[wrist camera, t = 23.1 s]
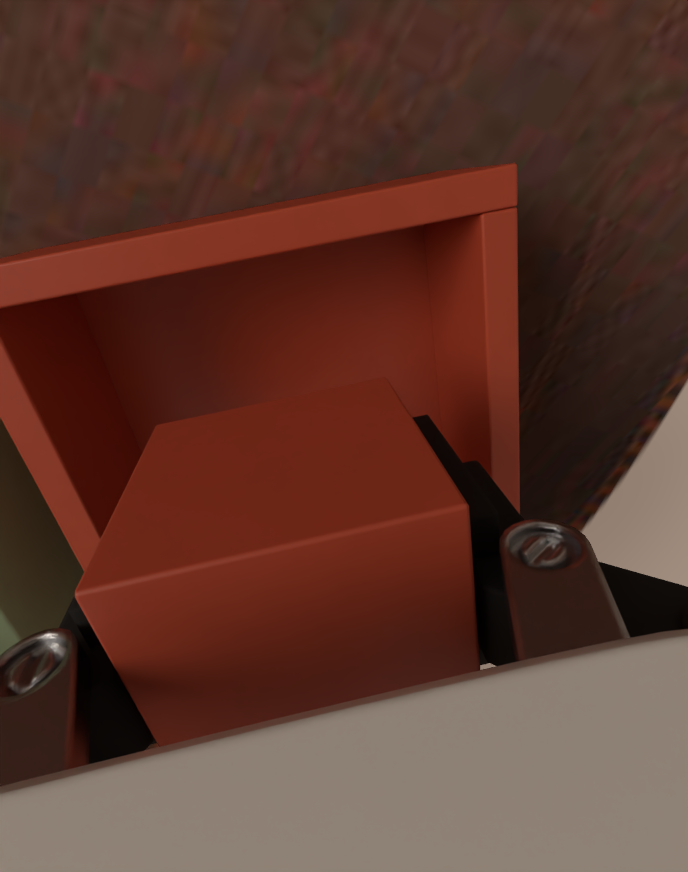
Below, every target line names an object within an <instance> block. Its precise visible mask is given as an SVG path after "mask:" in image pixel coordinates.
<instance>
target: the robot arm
mask: <svg viewBox="0 0 688 872" xmlns="http://www.w3.org/2000/svg"><path fill="white" fill-rule="evenodd" d="M412 418H413V420H414V421H415V423H416V424H417V426H418V427H419V429H420V431H421V432H422V434H423V435H424V437H425V438H426V440H427V441H428V443H429V445H430V446H431V448H432V449H433V451H434V452H435V454H436V455H437V457H438V459H439V460H440V462H441V463H442V465H443V466H444V468H445V469H446V471H447V473H448V474H449V476H450V477H451V479H452V480H453V482H454V483H455V485H456V487H457V488H458V490H459V491H460V493H461V494H462V496H463V497H464V499H465V501H466V502H467V504H468V505H469V513H470V528H471V542H472V557H473V571H474V586H475V600H476V615H477V629H478V644H479V658H480V665H483V664H487V663H491V664H493V665H496V667H492V668H488V669H483V670H479V671H475V672H470V673H466V674H462V675H458V676H453V677H449V678H445V679H441V680H436V681H432V682H428V683H424V684H419V685H415V686H411V687H406V688H402V689H398V690H394V691H389V692H385V693H381V694H377V695H372V696H368V697H364V698H360V699H356V700H351V701H347V702H343V703H339V704H335V705H331V706H326V707H322V708H318V709H314V710H310V711H306V712H301V713H297V714H293V715H289V716H285V717H281V718H276V719H272V720H268V721H264V722H260V723H256V724H252V725H247V726H243V727H239V728H235V729H231V730H227V731H223V732H218V733H214V734H210V735H206V736H202V737H198V738H194V739H189V740H185V741H181V742H177V743H173V744H169V745H165V746H161V747H157V748H153V749H149V750H145V749H146V748H147V747H148V746H149V745H150V744H154V743H157V742H156V740H155V738H154V737H153V735H152V733H151V731H150V730H149V728H148V726H147V724H146V722H145V721H144V719H143V717H142V715H141V714H140V712H139V710H138V708H137V706H136V705H135V703H134V701H133V699H132V698H131V696H130V694H129V692H128V691H127V689H126V687H125V685H124V683H123V682H122V680H121V678H120V676H119V675H118V673H117V671H116V669H115V667H114V666H113V664H112V662H111V660H110V659H109V657H108V655H107V653H106V652H105V650H104V648H103V646H102V644H101V643H100V641H99V639H98V637H97V636H96V634H95V632H94V630H93V628H92V627H91V625H90V623H89V621H88V620H87V618H86V616H85V614H84V612H83V611H82V609H81V607H80V605H79V604H78V602H77V600H76V598H75V595H74V597H73V599H72V601H71V603H70V605H69V607H68V609H67V612H66V614H65V616H64V618H63V620H62V622H61V624H60V626H59V628H53V629H46V630H43V631H40V632H37V633H34V634H32V635H30V636H28V637H26V638H24V639H22V640H20V641H19V642H17V643H16V644H14V645H13V646H11V647H10V648H8V649H7V650H6V651H5V652H3V653H2V654H1V655H0V872H688V587H686V586H682V585H679V584H675V583H672V582H668V581H665V580H662V579H658V578H655V577H651V576H647V575H644V574H640V573H637V572H633V571H630V570H626V569H622V568H619V567H615V566H612V565H608V564H605V563H601V562H598V561H597V558H596V555H595V553H594V551H593V548H592V546H591V544H590V542H589V541H588V539H587V538H586V537H585V535H583V534H582V533H581V532H580V531H578V530H577V529H576V528H574V527H572V526H569V525H567V524H565V523H562V522H558V521H554V520H548V519H532V520H524V519H523V518H522V516H521V515H520V514H519V513H518V511H517V510H516V509H515V508H514V506H513V505H512V504H511V502H510V501H509V500H508V499H507V497H506V496H505V495H504V493H503V492H502V491H501V490H500V488H499V487H498V486H497V485H496V483H495V482H494V481H493V479H492V478H491V477H490V476H489V474H488V473H487V472H486V470H485V469H484V468H483V467H482V465H481V464H480V463H479V462H478V461H476V460H473V461H468V462H464V463H462V461H461V460H460V459H459V457H458V456H457V454H456V453H455V452H454V450H453V449H452V447H451V446H450V445H449V443H448V442H447V440H446V439H445V438H444V436H443V435H442V434H441V432H440V431H439V429H438V428H437V427H436V425H435V424H434V422H433V421H432V420H431V418H430V417H429V416H428V415H427V414H426V415H422V416H417V417H412ZM144 750H145V751H144Z"/></svg>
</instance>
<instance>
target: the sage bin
mask: <svg viewBox="0 0 688 872" xmlns="http://www.w3.org/2000/svg"><path fill="white" fill-rule="evenodd" d="M83 574H84V570H83V569H82V567H81V565H80V563H79V561H78V559H77V558H76V556H75V554H74V552H73V550H72V548H71V547H70V545H69V543H68V541H67V539H66V537H65V535H64V534H63V532H62V530H61V528H60V526H59V524H58V523H57V521H56V519H55V517H54V515H53V513H52V512H51V510H50V508H49V506H48V504H47V502H46V501H45V499H44V497H43V495H42V493H41V491H40V489H39V488H38V486H37V484H36V482H35V480H34V478H33V477H32V475H31V473H30V471H29V469H28V467H27V466H26V464H25V462H24V460H23V458H22V456H21V454H20V453H19V451H18V449H17V447H16V445H15V443H14V442H13V440H12V438H11V436H10V434H9V432H8V431H7V429H6V427H5V425H4V423H3V421H2V419H1V418H0V655H1V654H2V653H3V652H5V651H6V650H7V649H8V648H10V647H11V646H13V645H14V644H16V643H17V642H19V641H20V640H22V639H24V638H26V637H28V636H30V635H32V634H34V633H37V632H40V631H43V630H46V629H53V628H59V626H60V624H61V622H62V620H63V618H64V616H65V614H66V612H67V609H68V607H69V605H70V603H71V601H72V599H73V597H74V595H75V590H76V588H77V586H78V584H79V582H80V580H81V578H82V576H83Z"/></svg>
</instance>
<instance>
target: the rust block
mask: <svg viewBox="0 0 688 872" xmlns="http://www.w3.org/2000/svg"><path fill="white" fill-rule="evenodd" d="M75 598H76V600H77V602H78V604H79V605H80V607H81V609H82V611H83V612H84V614H85V616H86V618H87V620H88V621H89V623H90V625H91V627H92V628H93V630H94V632H95V634H96V636H97V637H98V639H99V641H100V643H101V644H102V646H103V648H104V650H105V652H106V653H107V655H108V657H109V659H110V660H111V662H112V664H113V666H114V667H115V669H116V671H117V673H118V675H119V676H120V678H121V680H122V682H123V683H124V685H125V687H126V689H127V691H128V692H129V694H130V696H131V698H132V699H133V701H134V703H135V705H136V706H137V708H138V710H139V712H140V714H141V715H142V717H143V719H144V721H145V722H146V724H147V726H148V728H149V730H150V731H151V733H152V735H153V737H154V738H155V740H156V742H157V744H158V746H159V747H161V746H165V745H169V744H173V743H177V742H181V741H185V740H189V739H194V738H198V737H202V736H206V735H210V734H214V733H218V732H223V731H227V730H231V729H235V728H239V727H243V726H247V725H252V724H256V723H260V722H264V721H268V720H272V719H276V718H281V717H285V716H289V715H293V714H297V713H301V712H306V711H310V710H314V709H318V708H322V707H326V706H331V705H335V704H339V703H343V702H347V701H351V700H356V699H360V698H364V697H368V696H372V695H377V694H381V693H385V692H389V691H394V690H398V689H402V688H406V687H411V686H415V685H419V684H424V683H428V682H432V681H436V680H441V679H445V678H449V677H453V676H458V675H462V674H466V673H470V672H475V671H479V670H480V658H479V644H478V629H477V615H476V600H475V586H474V571H473V557H472V542H471V528H470V513H469V505H468V504H467V502H466V501H465V499H464V497H463V496H462V494H461V493H460V491H459V490H458V488H457V487H456V485H455V483H454V482H453V480H452V479H451V477H450V476H449V474H448V473H447V471H446V469H445V468H444V466H443V465H442V463H441V462H440V460H439V459H438V457H437V455H436V454H435V452H434V451H433V449H432V448H431V446H430V445H429V443H428V441H427V440H426V438H425V437H424V435H423V434H422V432H421V431H420V429H419V427H418V426H417V424H416V423H415V421H414V420H413V418H412V416H411V415H410V413H409V412H408V410H407V409H406V407H405V406H404V404H403V402H402V401H401V399H400V398H399V396H398V395H397V393H396V392H395V390H394V388H393V387H392V385H391V384H390V382H389V381H388V379H387V378H386V377H382V378H377V379H372V380H367V381H363V382H358V383H353V384H349V385H344V386H339V387H334V388H330V389H325V390H320V391H315V392H311V393H306V394H301V395H297V396H292V397H287V398H282V399H278V400H273V401H268V402H263V403H259V404H254V405H249V406H245V407H240V408H235V409H230V410H226V411H221V412H216V413H211V414H207V415H202V416H197V417H193V418H188V419H183V420H178V421H174V422H169V423H164V424H160V425H157V426H155V429H154V431H153V433H152V435H151V437H150V439H149V441H148V443H147V445H146V447H145V449H144V451H143V453H142V455H141V457H140V459H139V461H138V463H137V465H136V467H135V469H134V471H133V473H132V475H131V478H130V480H129V482H128V484H127V486H126V488H125V490H124V492H123V494H122V496H121V498H120V500H119V502H118V504H117V506H116V508H115V510H114V512H113V514H112V516H111V518H110V520H109V522H108V525H107V527H106V529H105V531H104V533H103V535H102V537H101V539H100V541H99V543H98V545H97V547H96V549H95V551H94V553H93V555H92V557H91V559H90V561H89V563H88V565H87V567H86V569H85V571H84V574H83V576H82V578H81V580H80V582H79V584H78V586H77V588H76V590H75Z"/></svg>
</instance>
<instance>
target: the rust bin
mask: <svg viewBox="0 0 688 872" xmlns="http://www.w3.org/2000/svg"><path fill="white" fill-rule="evenodd" d="M517 203H518V200H517V164H515V163H511V164H502V165H493V166H483V167H474V168H465V169H455V170H446V171H438V172H433V173H427V174H422V175H417V176H412V177H407V178H402V179H396V180H391V181H386V182H381V183H376V184H371V185H366V186H360V187H355V188H350V189H345V190H340V191H335V192H329V193H324V194H319V195H314V196H309V197H304V198H298V199H293V200H288V201H283V202H278V203H273V204H267V205H262V206H257V207H252V208H247V209H242V210H237V211H231V212H226V213H221V214H216V215H211V216H206V217H200V218H195V219H190V220H185V221H180V222H175V223H169V224H164V225H159V226H154V227H149V228H144V229H138V230H133V231H128V232H123V233H118V234H113V235H108V236H102V237H97V238H92V239H87V240H82V241H77V242H71V243H66V244H61V245H56V246H51V247H46V248H40V249H35V250H31V251H28V252H24V253H20V254H16V255H12V256H8V257H4V258H0V418H1V419H2V421H3V423H4V425H5V427H6V429H7V431H8V432H9V434H10V436H11V438H12V440H13V442H14V443H15V445H16V447H17V449H18V451H19V453H20V454H21V456H22V458H23V460H24V462H25V464H26V466H27V467H28V469H29V471H30V473H31V475H32V477H33V478H34V480H35V482H36V484H37V486H38V488H39V489H40V491H41V493H42V495H43V497H44V499H45V501H46V502H47V504H48V506H49V508H50V510H51V512H52V513H53V515H54V517H55V519H56V521H57V523H58V524H59V526H60V528H61V530H62V532H63V534H64V535H65V537H66V539H67V541H68V543H69V545H70V547H71V548H72V550H73V552H74V554H75V556H76V558H77V559H78V561H79V563H80V565H81V567H82V569H83V570H84V571H85V569H86V567H87V565H88V563H89V561H90V559H91V557H92V555H93V553H94V551H95V549H96V547H97V545H98V543H99V541H100V539H101V537H102V535H103V533H104V531H105V529H106V527H107V525H108V522H109V520H110V518H111V516H112V514H113V512H114V510H115V508H116V506H117V504H118V502H119V500H120V498H121V496H122V494H123V492H124V490H125V488H126V486H127V484H128V482H129V480H130V478H131V475H132V473H133V471H134V469H135V467H136V465H137V463H138V461H139V459H140V457H141V455H142V453H143V451H144V449H145V447H146V445H147V443H148V441H149V439H150V437H151V435H152V433H153V431H154V429H155V426H157V425H160V424H164V423H169V422H174V421H178V420H183V419H188V418H193V417H197V416H202V415H207V414H211V413H216V412H221V411H226V410H230V409H235V408H240V407H245V406H249V405H254V404H259V403H263V402H268V401H273V400H278V399H282V398H287V397H292V396H297V395H301V394H306V393H311V392H315V391H320V390H325V389H330V388H334V387H339V386H344V385H349V384H353V383H358V382H363V381H367V380H372V379H377V378H382V377H386V378H387V379H388V381H389V382H390V384H391V385H392V387H393V388H394V390H395V392H396V393H397V395H398V396H399V398H400V399H401V401H402V402H403V404H404V406H405V407H406V409H407V410H408V412H409V413H410V415H411V416H412V417H417V416H422V415H426V414H427V415H428V416H429V417H430V418H431V420H432V421H433V422H434V424H435V425H436V427H437V428H438V429H439V431H440V432H441V434H442V435H443V436H444V438H445V439H446V440H447V442H448V443H449V445H450V446H451V447H452V449H453V450H454V452H455V453H456V454H457V456H458V457H459V459H460V460H461V461H462V463H464V462H468V461H473V460H476V461H478V462H479V463H480V464H481V465H482V467H483V468H484V469H485V470H486V472H487V473H488V474H489V476H490V477H491V478H492V479H493V481H494V482H495V483H496V485H497V486H498V487H499V488H500V490H501V491H502V492H503V493H504V495H505V496H506V497H507V499H508V500H509V501H510V502H511V504H512V505H513V506H514V508H515V509H516V510H517V511H518V513H519V514H520V469H519V348H518V227H517V208H515V206H516V205H517Z"/></svg>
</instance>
